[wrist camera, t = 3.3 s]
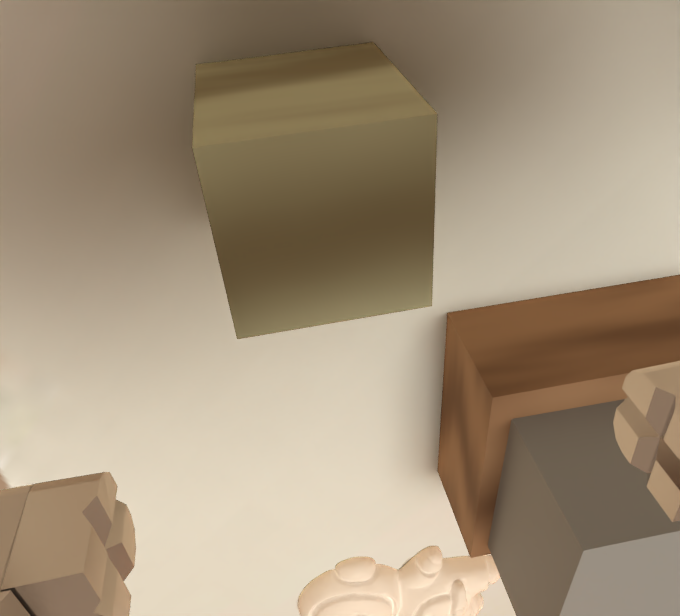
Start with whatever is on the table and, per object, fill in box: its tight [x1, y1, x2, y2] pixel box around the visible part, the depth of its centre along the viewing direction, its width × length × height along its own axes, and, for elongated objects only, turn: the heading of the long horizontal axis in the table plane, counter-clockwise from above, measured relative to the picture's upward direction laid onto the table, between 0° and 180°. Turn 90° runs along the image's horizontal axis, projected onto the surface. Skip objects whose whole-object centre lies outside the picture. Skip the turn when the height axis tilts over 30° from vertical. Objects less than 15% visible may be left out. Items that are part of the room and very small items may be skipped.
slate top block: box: [488, 399, 680, 616], centre depth 22 cm, size 8×8×5 cm
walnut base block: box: [438, 275, 680, 558], centre depth 25 cm, size 10×10×5 cm
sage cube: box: [192, 42, 437, 339], centre depth 16 cm, size 5×5×6 cm
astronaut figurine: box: [298, 546, 500, 616], centre depth 35 cm, size 9×12×3 cm
